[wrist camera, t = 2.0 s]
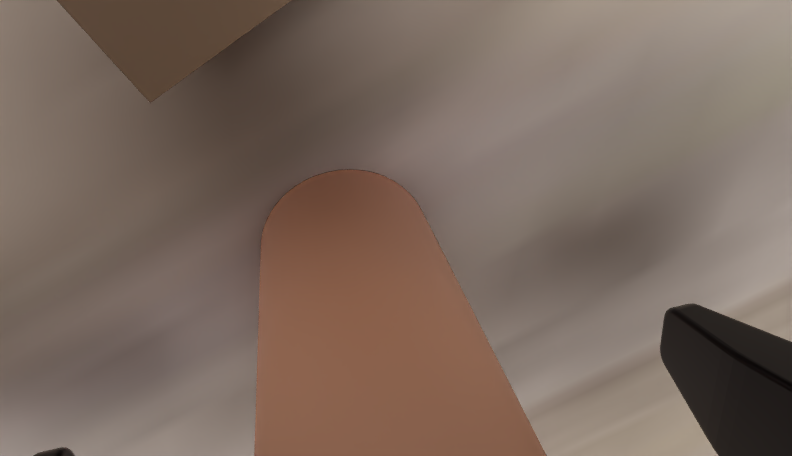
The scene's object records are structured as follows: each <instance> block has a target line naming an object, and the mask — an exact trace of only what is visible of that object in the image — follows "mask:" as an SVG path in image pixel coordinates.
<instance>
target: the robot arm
mask: <svg viewBox="0 0 792 456" xmlns="http://www.w3.org/2000/svg"><path fill="white" fill-rule="evenodd" d="M660 353H661V357H662V360H663V363H664V365H665V367H666V368H667V370H668V372H669V373H670V375H671V377H672V379H673V380H674V382H675V384H676V385H677V387H678V389H679V391H680V392H681V394H682V396H683V398H684V399H685V401H686V403H687V404H688V406H689V408H690V410H691V411H692V413H693V415H694V416H695V418H696V420H697V422H698V423H699V425H700V427H701V428H702V430H703V432H704V434H705V435H706V437H707V439H708V440H709V442H710V443H711V445H712V447H713V448H714V450H715V451H716V453H717V454H718V455H719V456H792V342H790V341H788V340H785V339H783V338H780V337H778V336H775V335H773V334H770V333H768V332H765V331H763V330H760V329H757V328H755V327H752V326H750V325H747V324H745V323H742V322H740V321H737V320H735V319H732V318H730V317H727V316H725V315H722V314H720V313H717V312H715V311H712V310H710V309H707V308H705V307H702V306H700V305H697V304H685V305H681V306H677V307H672V308H670V309H668V310H667V311H666V313H665V315H664V321H663V329H662V337H661V345H660ZM34 456H75V455H74V454H73V452H72V451H71V450H70V449H68V448H63V447H62V448H57V449H53V450H48V451H44V452H40V453H37V454H35V455H34Z"/></svg>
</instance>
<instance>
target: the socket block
mask: <svg viewBox="0 0 792 456" xmlns="http://www.w3.org/2000/svg"><path fill="white" fill-rule="evenodd" d="M57 1H58V2H59V3H60V4H61V6H62V7H63V8H64V9H65V10H66V11H67V12H68V13H69V14H70V15H71V17H72V18H73V19H74V20H75V21H76V22H77V23H78V24H79V25H80V26H81V27H82V29H83V30H84V31H85V32H86V33H87V34H88V35H89V36H90V37H91V38H92V40H93V41H94V42H95V43H96V44H97V45H98V46H99V47H100V48H101V49H102V51H103V52H104V53H105V54H106V55H107V56H108V57H109V58H110V59H111V60H112V62H113V63H114V64H115V65H116V66H117V67H118V68H119V69H120V70H121V71H122V73H123V74H124V75H125V76H126V77H127V78H128V79H129V80H130V81H131V82H132V84H133V85H134V86H135V87H136V88H137V89H138V90H139V91H140V92H141V93H142V95H143V96H144V97H145V98H146V99H147V100H148V101H149V102H150V103H151V102H152V101H154V100H155V99H156V98H158V97H159V96H161V95H162V94H163V93H165V92H166V91H167V90H169V89H170V88H172V87H173V86H174V85H176V84H177V83H178V82H180V81H181V80H183V79H184V78H185V77H187V76H188V75H189V74H191V73H192V72H194V71H195V70H196V69H198V68H199V67H200V66H202V65H203V64H205V63H206V62H207V61H209V60H210V59H211V58H213V57H214V56H216V55H217V54H218V53H220V52H221V51H222V50H224V49H225V48H227V47H228V46H229V45H231V44H232V43H233V42H235V41H236V40H238V39H239V38H240V37H242V36H243V35H244V34H246V33H247V32H249V31H250V30H251V29H253V28H254V27H255V26H257V25H258V24H260V23H261V22H262V21H264V20H265V19H266V18H268V17H269V16H271V15H272V14H273V13H275V12H276V11H277V10H279V9H280V8H282V7H283V6H284V5H286V4H287V3H288V2H290V1H291V0H57Z"/></svg>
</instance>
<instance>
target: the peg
mask: <svg viewBox="0 0 792 456" xmlns="http://www.w3.org/2000/svg"><path fill="white" fill-rule="evenodd" d="M254 456H546V454H545V452H544V450H543V448H542V446H541V444H540V442H539V440H538V438H537V436H536V434H535V432H534V430H533V428H532V426H531V424H530V422H529V420H528V419H527V417H526V415H525V413H524V411H523V409H522V407H521V405H520V403H519V401H518V399H517V397H516V395H515V393H514V391H513V389H512V387H511V385H510V383H509V381H508V379H507V377H506V375H505V373H504V371H503V369H502V367H501V365H500V364H499V362H498V360H497V358H496V356H495V354H494V352H493V350H492V348H491V346H490V344H489V342H488V340H487V338H486V336H485V334H484V332H483V330H482V328H481V326H480V324H479V322H478V320H477V318H476V316H475V314H474V312H473V310H472V308H471V307H470V305H469V303H468V301H467V299H466V297H465V295H464V293H463V291H462V289H461V287H460V285H459V283H458V281H457V279H456V277H455V275H454V273H453V271H452V269H451V267H450V265H449V263H448V261H447V259H446V257H445V255H444V253H443V252H442V250H441V248H440V246H439V244H438V242H437V240H436V238H435V236H434V234H433V232H432V230H431V228H430V226H429V224H428V222H427V220H426V218H425V216H424V214H423V212H422V210H421V208H420V207H419V205H418V203H417V202H416V200H415V199H414V198H413V197H412V196H411V194H410V193H409V192H408V191H406V190H405V189H404V188H403V187H402V186H400V185H399V184H397V183H396V182H395V181H393V180H391V179H389V178H387V177H385V176H382V175H379V174H376V173H373V172H368V171H363V170H337V171H331V172H326V173H323V174H320V175H316V176H314V177H312V178H309V179H307V180H305V181H303V182H302V183H300V184H298V185H297V186H295V187H294V188H293V189H291V190H290V191H289V192H287V193H286V194H285V195H284V196H283V197H282V198H281V199H280V200H279V201H278V203H277V204H276V205H275V207H274V208H273V209H272V211H271V213H270V215H269V216H268V218H267V221H266V223H265V226H264V229H263V233H262V238H261V256H260V289H259V322H258V355H257V388H256V420H255V453H254Z"/></svg>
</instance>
